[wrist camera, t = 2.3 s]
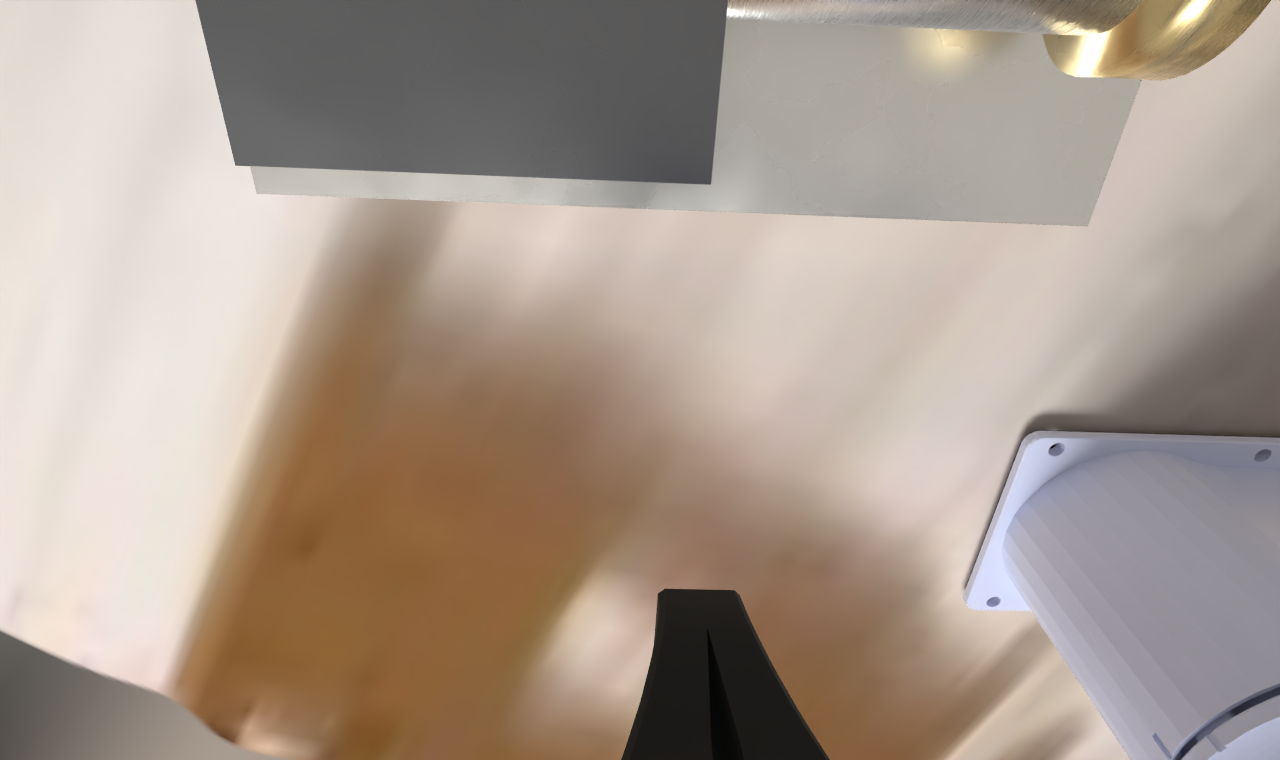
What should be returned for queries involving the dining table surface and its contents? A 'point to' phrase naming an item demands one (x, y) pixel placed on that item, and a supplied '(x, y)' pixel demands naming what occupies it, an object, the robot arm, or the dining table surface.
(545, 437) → the dining table surface
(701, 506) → the dining table surface
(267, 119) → the bearing block
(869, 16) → the shaft
